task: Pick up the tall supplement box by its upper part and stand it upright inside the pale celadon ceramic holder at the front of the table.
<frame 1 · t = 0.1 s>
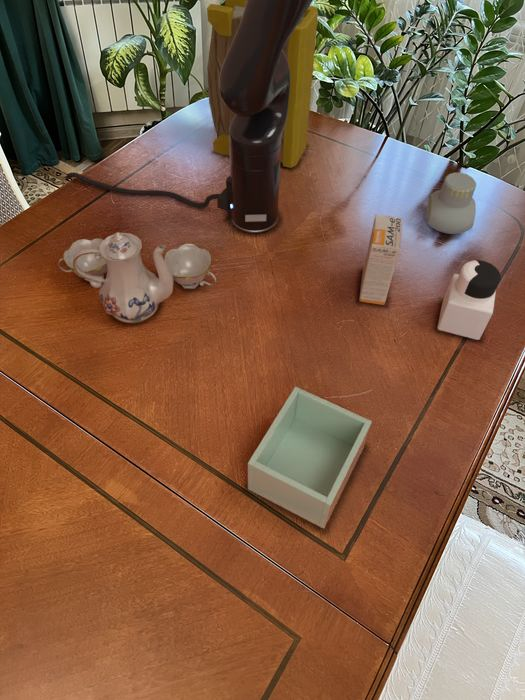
air freshener: (446, 224, 115), on the table
supplement box: (373, 288, 103), on the table
holder: (306, 468, 81), on the table
chinaware: (138, 293, 101), on the table
decorative book: (259, 149, 130), on the table
bust figurine: (459, 321, 99), on the table
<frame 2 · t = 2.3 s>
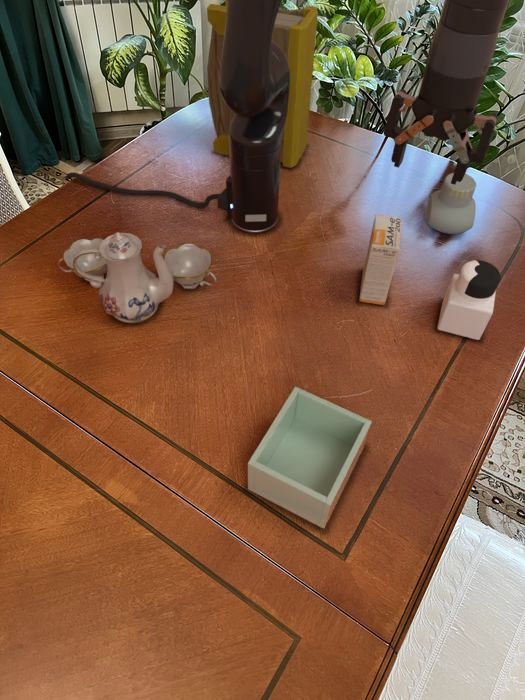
hand: (425, 172, 84), 24 cm above the table, tool pointing down, fingers open, 8 cm apart
nothing on the table moved.
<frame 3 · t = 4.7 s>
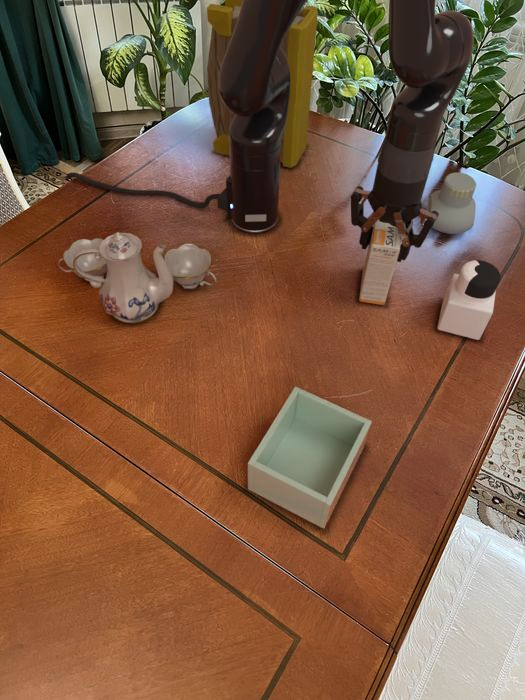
hand: (382, 252, 96), 9 cm above the table, tool pointing down, fingers closed on supplement box, 5 cm apart
supplement box: (373, 288, 103), on the table, touching gripper
everything else where it was.
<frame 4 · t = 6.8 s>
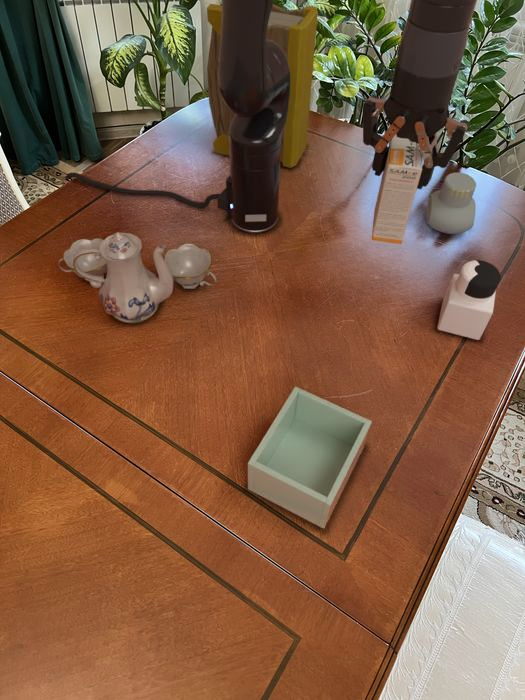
hand: (399, 179, 82), 25 cm above the table, tool pointing down, fingers closed on supplement box, 5 cm apart
supplement box: (387, 226, 89), point 16 cm above the table, touching gripper
everything else where it was.
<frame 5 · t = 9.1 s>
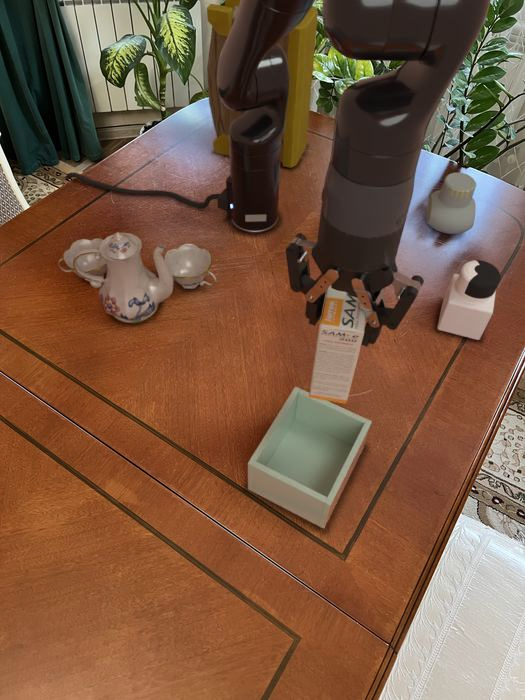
hand: (340, 329, 63), 26 cm above the table, tool pointing down, fingers closed on supplement box, 5 cm apart
supplement box: (331, 375, 70), point 17 cm above the table, touching gripper
everything else where it was.
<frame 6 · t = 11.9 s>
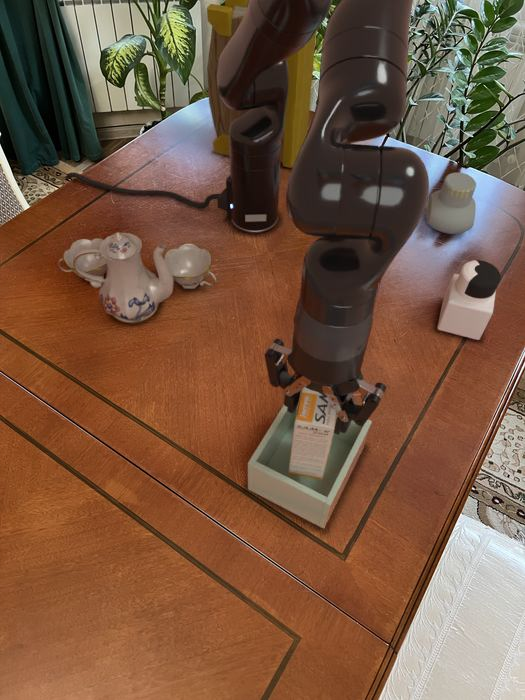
hand: (316, 417, 70), 14 cm above the table, tool pointing down, fingers closed on supplement box, 5 cm apart
supplement box: (310, 450, 77), point 5 cm above the table, touching gripper
everything else where it was.
when the fingers open (9 cm above the table, at t = 13.7 s): supplement box stays where it is, resting on holder.
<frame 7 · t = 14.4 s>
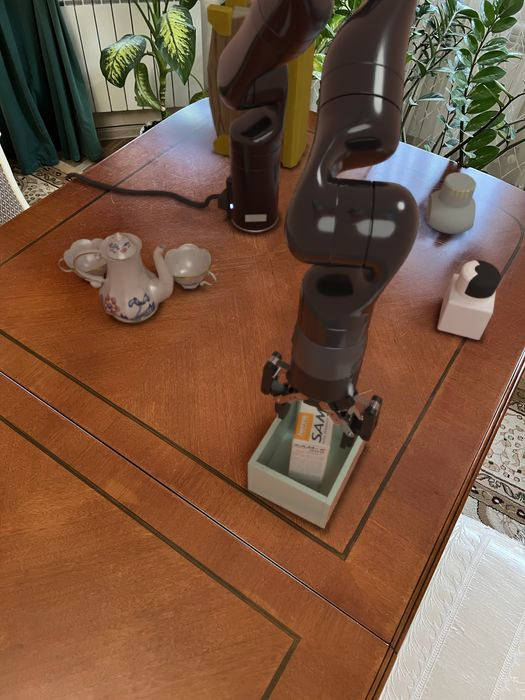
hand: (313, 428, 72), 11 cm above the table, tool pointing down, fingers open, 8 cm apart
supplement box: (307, 465, 81), point 1 cm above the table, touching holder
everything else where it was.
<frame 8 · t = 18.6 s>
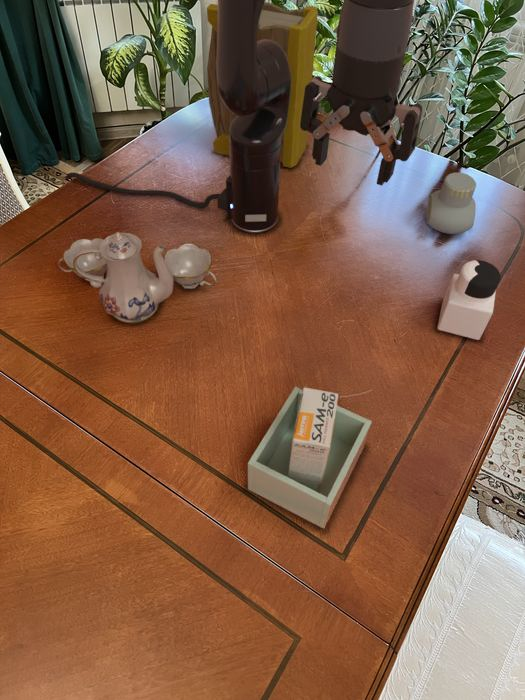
hand: (350, 171, 74), 30 cm above the table, tool pointing down, fingers open, 8 cm apart
nothing on the table moved.
at the end: supplement box inside the target area in the holder (0.1 cm from its centre), point 0.6 cm above the holder's base; supplement box tilted 0°; the gripper is holding nothing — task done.
